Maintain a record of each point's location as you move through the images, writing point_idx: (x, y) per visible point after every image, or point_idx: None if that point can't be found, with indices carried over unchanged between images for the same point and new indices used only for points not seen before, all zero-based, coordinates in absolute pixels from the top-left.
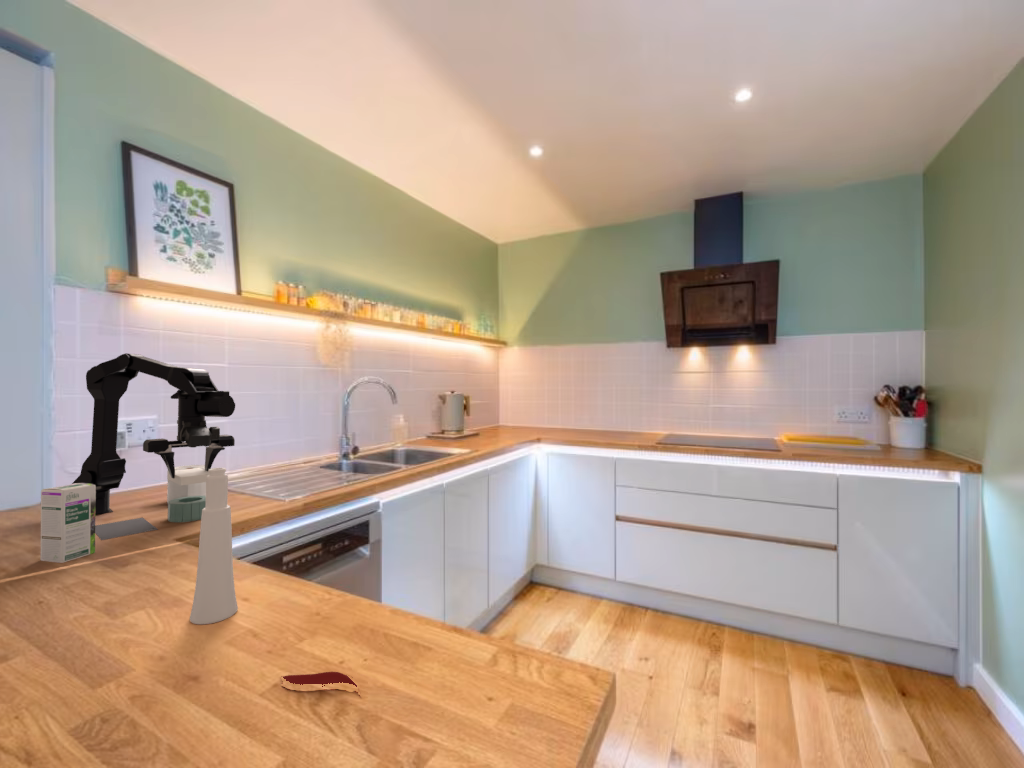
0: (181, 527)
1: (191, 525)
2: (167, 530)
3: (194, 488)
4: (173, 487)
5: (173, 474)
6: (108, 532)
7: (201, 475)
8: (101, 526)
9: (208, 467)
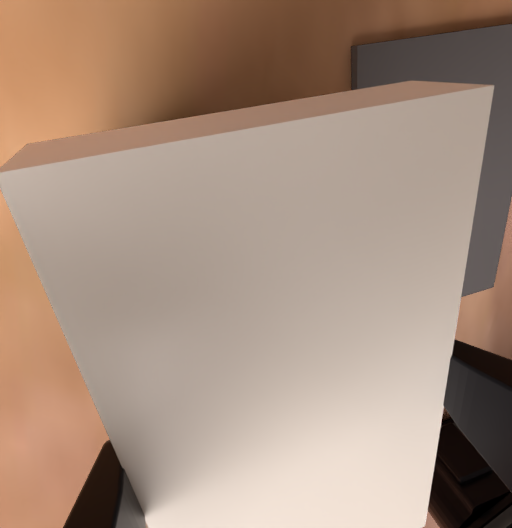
0: (250, 52)
1: (201, 61)
2: (315, 36)
3: None
4: None
5: (464, 352)
6: (492, 147)
7: (221, 129)
8: (475, 265)
9: (100, 517)
